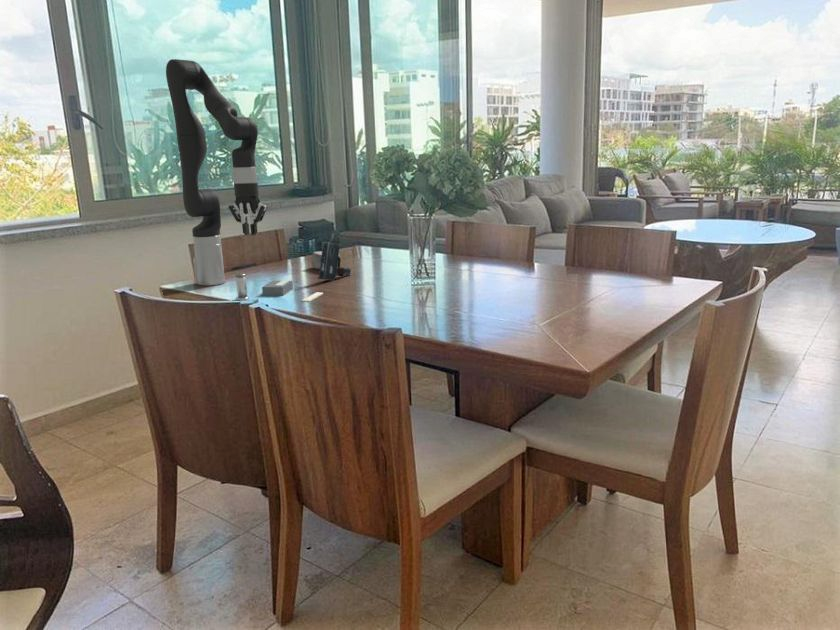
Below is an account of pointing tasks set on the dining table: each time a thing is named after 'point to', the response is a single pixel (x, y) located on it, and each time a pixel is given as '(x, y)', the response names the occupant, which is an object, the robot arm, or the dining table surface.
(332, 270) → the gun
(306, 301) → the cream flat strip
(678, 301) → the dining table surface
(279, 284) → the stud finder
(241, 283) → the grey beige cylinder
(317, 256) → the decorative stone
